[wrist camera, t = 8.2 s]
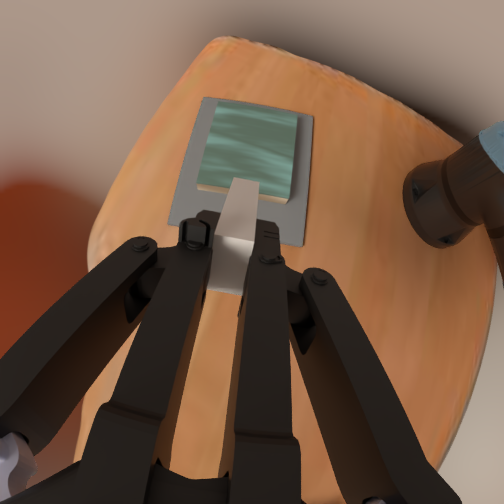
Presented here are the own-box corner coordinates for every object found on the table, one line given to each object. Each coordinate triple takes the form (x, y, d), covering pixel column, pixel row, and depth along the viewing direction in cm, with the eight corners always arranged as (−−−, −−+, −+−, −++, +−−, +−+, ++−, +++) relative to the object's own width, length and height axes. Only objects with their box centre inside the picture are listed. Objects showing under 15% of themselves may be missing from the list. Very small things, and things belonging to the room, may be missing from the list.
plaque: (197, 189, 37) (218, 110, 40) (285, 204, 38) (294, 123, 41) (196, 182, 35) (218, 101, 38) (289, 198, 36) (297, 115, 38)
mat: (203, 99, 41) (203, 96, 40) (311, 118, 42) (312, 116, 42) (168, 225, 36) (167, 223, 36) (301, 247, 38) (302, 246, 37)
